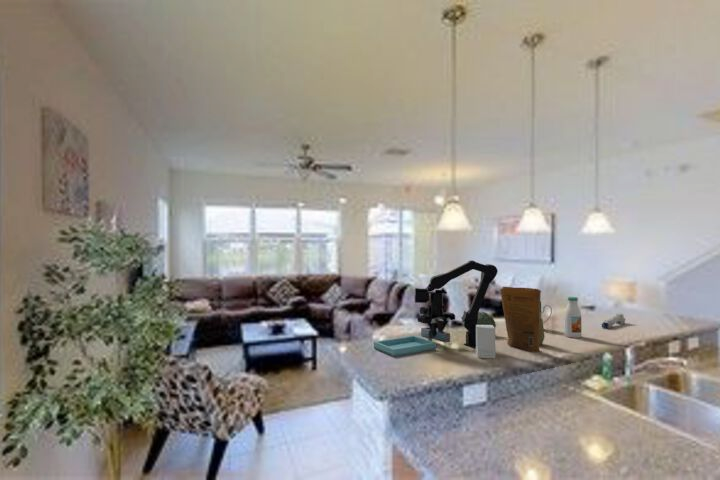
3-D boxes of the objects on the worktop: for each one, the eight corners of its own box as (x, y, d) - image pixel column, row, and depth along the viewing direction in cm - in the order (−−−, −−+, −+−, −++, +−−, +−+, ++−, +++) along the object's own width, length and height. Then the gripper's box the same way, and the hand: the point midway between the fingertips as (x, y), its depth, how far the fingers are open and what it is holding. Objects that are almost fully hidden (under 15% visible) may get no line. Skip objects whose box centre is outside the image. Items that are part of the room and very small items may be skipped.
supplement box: (495, 358, 175) (495, 328, 175) (477, 357, 176) (477, 327, 176) (493, 353, 182) (493, 324, 182) (475, 353, 184) (475, 324, 184)
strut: (452, 341, 193) (452, 332, 193) (442, 343, 190) (442, 334, 190) (430, 334, 206) (430, 326, 206) (421, 336, 203) (421, 328, 203)
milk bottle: (565, 337, 211) (564, 297, 211) (563, 334, 218) (563, 295, 218) (582, 338, 208) (582, 298, 208) (580, 335, 215) (580, 296, 215)
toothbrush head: (599, 321, 232) (616, 310, 248) (600, 333, 232) (617, 321, 248) (610, 322, 228) (626, 311, 244) (610, 334, 228) (627, 322, 244)
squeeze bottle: (544, 342, 200) (544, 305, 200) (544, 346, 193) (544, 307, 193) (526, 341, 204) (526, 304, 204) (525, 345, 196) (525, 306, 196)
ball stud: (433, 342, 201) (433, 335, 201) (429, 343, 200) (429, 336, 200) (430, 341, 204) (430, 334, 204) (426, 342, 202) (426, 335, 202)
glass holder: (529, 326, 238) (529, 299, 238) (555, 330, 228) (555, 302, 228) (522, 328, 232) (522, 301, 232) (548, 332, 222) (548, 304, 222)
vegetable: (502, 328, 222) (497, 320, 211) (484, 345, 223) (479, 338, 211) (485, 312, 230) (480, 304, 218) (468, 328, 230) (462, 321, 218)
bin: (435, 349, 190) (435, 342, 190) (393, 356, 179) (393, 349, 179) (414, 341, 204) (414, 335, 204) (373, 348, 192) (373, 341, 192)
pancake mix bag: (536, 354, 181) (536, 289, 181) (499, 345, 197) (499, 285, 196) (545, 351, 185) (545, 288, 185) (508, 343, 200) (507, 284, 200)
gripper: (440, 299, 209) (440, 330, 209) (410, 302, 200) (410, 334, 200) (456, 302, 199) (456, 334, 200) (425, 305, 190) (425, 339, 190)
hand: (436, 335), depth 198 cm, fingers closed on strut, 3 cm apart
